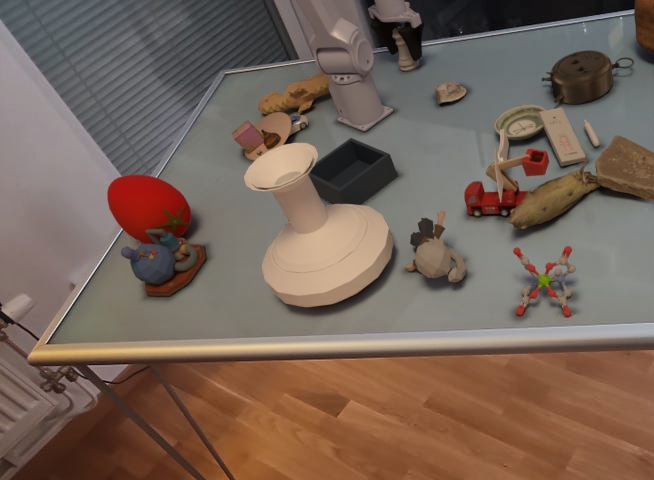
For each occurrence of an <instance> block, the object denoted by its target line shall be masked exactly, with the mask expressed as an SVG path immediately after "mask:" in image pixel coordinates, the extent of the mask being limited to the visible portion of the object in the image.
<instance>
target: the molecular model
mask: <svg viewBox="0 0 654 480" xmlns="http://www.w3.org/2000/svg"><path fill="white" fill-rule="evenodd" d="M512 252H513V254H514V255H515V256H516V257H517V258H518V259H519V261H520V264H521V265H522V266H523V268H524V270H525V271H528V272H529V273H530V275H531V277H532V279H531V282H530V283H529V285H528V286H527V287H523V288H522V289H521V291H520V292H521V294H522V296H523V297H522V298H521V301H520V303H519V305H518V307H517V308H516V310H515V314H516V315H518V316H522V315H523V314H524V311H525V310H526V307H527V305H528V304H530V302H531V299H537V298H538V296H539V291H540V290H541V288H542V287H545V288H546V290H547V291H548V293H547V295H548V296H549V298H554V299H556V300H557V303H558V304H559V305H560V306H561V308H562V310H563V315H564V316H565V317H569V316H571V314H572V311H571V309H570V308H569V307H568V305H567V303H568V301H567V298H570V297H571V296H572V289H570V288H567V285H566V282H565V280H566V279H565V278H566V277H567V276H568V275H569V274H574V273H575V272H576V270H577V268H576V267H577V266H576V265H575V264H570V263H568V260H569V257H570V256H571V253H572V252H573V248H572V246H570V245H566V246H565V247H564V248H563V250H562V252H561V256H560V258H559V259H558V260H557V261H555V262H553V263H552V262H546V264H545V267H544V268H545V271H544V273H543V274H541V273H539V272H538V271H537V270H536V266H535V265H534V264H532V262H530V259H529V257H527V256H526V255H524V254H523V253H522V250H521V248H520V247H514V248H513V250H512ZM559 265H560V266H565V267H566V269H567V270H566V271H565V272H564V273H563V270H562V269H561V268H556V269H555V270H554V272H553V274H551V275H550V276H548V275H549V273H550V271H551V270H553V268H555V267H557V266H559ZM556 281H557V282H558V283H560V284H561V286H562V288H563V292H562V295H563V296H559V295H558V294H557V293H556V290H554V289H552V287H551V286H550V285H549V284H550V283H551V282H556ZM535 284H536V285H537V284H538V285H537V287H536V289H535V290H532V291H531V292H530V290H531V289H532V288H533V286H534V285H535Z"/></svg>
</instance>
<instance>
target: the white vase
mask: <svg viewBox="0 0 654 480" xmlns="http://www.w3.org/2000/svg"><path fill="white" fill-rule="evenodd" d="M318 156H319V153H318V151H317V149H316V147H315V146H314V145H312V144H310V143H308V142H293V143H287V144H283V145H282V146H279V147H277V148H275V149H272V150H270V151H268V152H266V153H265V154H263V155H262V156H260V157H259V158H257V159H256V160H255V161H252V163H251V164H250V165H249V167H248V168H247V170H246V172H245V174H244V175H243V178H244V183H245V186H246V187H248V188H249V189H250V190H252V191H258V192H268V193H269V192H270V193H272V194H273V196H274V198H275V200H276V202H277V203H278V205H279V207H280V208H281V210H282V212H283V214H284V215H285V217H286V219H287V221H288V223H287V224H285V226H283V228H282V229H281V230H280V231H279V233H278V234H277V235H276V236H275V237H274V239H273V241H272V242H271V243H270V245H269V246H268V248H267V250H266V252H265V255H264V257H263V259H262V264H261V270H262V274H263V277H264V282H265V283H266V285H267V286H268V288H269V289H270V290H271V292H272V293H273V294H274V295H275V296H276V297H277V298H278V299H280V301H282V302H283V303H284V304H286V305H293V306H297V307H303V308H311V307H319V306H327V305H333V304H337V303H340V302H342V301H344V300H346V299H349V298H351V297H353V296H355V295H357V294H359V292H361V291H362V290H363V289H365V288H366V287H367V286H369V285H371V283H373V282H374V281H375V280H376V279H378V278H379V277H380V276H381V273H382V272H383V271H384V269H385V267H386V266H387V265H388V263H389V261H390V260H391V259H392V253H393V248H394V244H395V239H394V236H393V234H392V231H391V230H390V227H389V226H388V224H387V222H386V219H385V218H384V216H383V214H382V213H380V212H379V211H377V210H375V209H373V208H372V207H370V206H369V205H363V204H361V205H353V204H326V205H325V204H324V203H323V201H322V198H321V197H319V195H318V193H317V191H316V189H315V187H314V185H313V183H312V181H311V179H310V177H309V175H308V174H309V173H310V171H311V170H312V168H313V166H314V165H315V163H316V162H317V159H318V158H319V157H318Z"/></svg>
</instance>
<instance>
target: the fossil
mask: <svg viewBox="0 0 654 480" xmlns="http://www.w3.org/2000/svg"><path fill="white" fill-rule="evenodd" d="M434 93H435V98H436V99H437V103H438V105H441V104H442V103H447V102H453V101H456V100H459V99H461V98H462V97H464V96H465V95H466V94H467V88H465V87H464V86H461V84H460V83H458V82H454V81H447V82H442V83H440V84H438V85H437V86H435V87H434Z"/></svg>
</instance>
